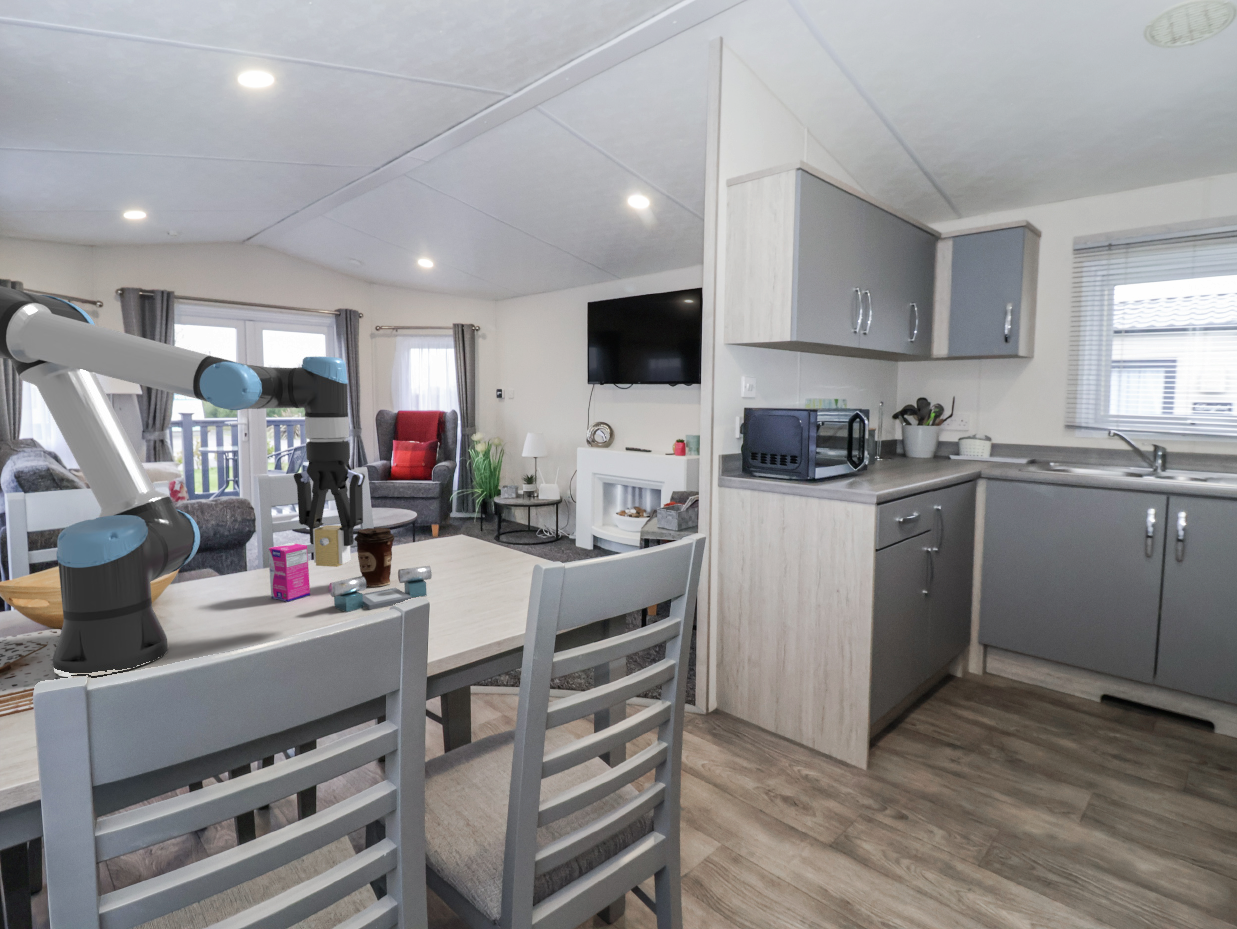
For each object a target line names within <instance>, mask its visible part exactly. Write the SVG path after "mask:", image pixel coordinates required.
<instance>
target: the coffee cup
mask: <svg viewBox="0 0 1237 929" xmlns="http://www.w3.org/2000/svg"><path fill="white" fill-rule="evenodd" d="M391 531H392V530H391V529H390V528H386V527H378V528H375V527H371V528H369V527H368V528H361V529H358V532H357V534H356V536H355V537H354V542H356V546H357V548H356V550H357V557H358V565H359V571H360V573H361V576H363V577H364V578H365V580H366V587H371V588H372V587H373V588H374V587H383V586H387V585H388V586H389V585H390V584H391V579H390V578H391V572H392V571H391V569H392V558H393V550H392V549H393V545H394V544H393V543H394V541H395V536H394V534H393V533H392V532H391Z"/></svg>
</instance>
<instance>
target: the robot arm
mask: <svg viewBox="0 0 1237 929" xmlns="http://www.w3.org/2000/svg"><path fill="white" fill-rule="evenodd" d="M0 359H4V360H10V362H11V364H12V366H13V367H14V370H15V371H16V373H17V376H18V377H19V379H20V380H21V381H23V382H26V383H27V384H28V383H29V384H31V385H34V386H36V387H37V389H38V391H39V393H40V395H41V398H42V399H43V401H44V403H45V405H46V407H47V409H48V410H49V411H48V412H50V414H51V416H52V418H53V420H54V422H55V424H56V426H57V428H58V429H59V432H60V433H61V435H62V437H63V439H64V441H65V443H66V445H67V446H68V449H69V450H70V452H71V454H72V456H73V458H74V460H75V461H76V463H77V466H78V468H79V469H80V471H81V473H82V475H83V477H84V479H85V481H86V482H87V484H88V486H89V488H90V490H91V492H92V494H93V495H94V497H95V499H96V501H97V503H98V505H99V506H100V509H101V511H100V513H99V515H98V517H96V518H94V519H86V520H85V519H84V520H83V521H79V522H76V523H73V524H71V525H69V526H66V527H65V528H64V529H62V531H60V533H59V534H58V536H57V542H56V546H57V549H56V556H55V558H56V560H57V563H58V564H57V565H58V573H59V574H58V575H59V583H60V594H61V595H60V596H61V606H62V614H63V615H62V616H63V624H62V628H61V630H60V633H59V636H58V639H57V644H56V646H55V650H54V653H53V656H52V667H54V668H55V669H57V670H61V671H64V672H69V673H92V672H98V671H105V672H107V670H113V669H115V670H122V669H127V668H133V667H136V666H137V665H141V664H143V663H146V662H149V661H153V660H155V659H157V658H158V657H160V658H162V657H163V656H165V655H166V654H167V652H168V650H169V646H168V638H167V637H168V636H167V634H166V633H165V631H164V628H163V626H162V624H161V622H160V620H159V618H158V617H157V614H156V613H155V611H154V608H153V600H152V586H151V583H152V582H153V581H155V580H157V579H158V580H159V579H160V578H162V577H164V576H166V575H169V574H171V573H174V572H177V571H178V570H180V569H181V568H182V567H183V566H184V565H187V563H189V562H190V561H191V560H192V559H193V558H194V556H195V555H196V553H197V551H198V549H199V547H200V543H201V534H200V533H201V532H200V530H199V525H198V524H197V522H196V521H195V520H194V518H193V517H192V516H191V515H190V514H188V513H187V512H184V511H181V510H180V509H177V508H176V506H175V504H174V502H173V500H172V499H171V497H170V495H169V494H167V493H164V492H160V491H158V490H156V488H155V487H154V484H153V482H152V480H151V479H150V477H149V475H148V472H147V471H146V468H145V467H144V465H143V463H142V461H141V460H140V458H139V455H138V454H137V452H136V450H135V447H134V446H133V444H132V442H131V440H130V438H129V436H128V434H127V432H126V430H125V428H124V426H123V425H122V423H121V421H120V419H119V417H118V415H117V413H116V411H115V409H114V407H113V404H112V403H111V401H110V399H109V397H108V395H107V394H106V391H105V390H104V387H103V386H102V385H103V384H102V383H101V382H100V380H99V377H98V376H97V375H100V376H104V377H108V378H112V379H115V380H120V381H123V382H128V383H133V384H136V385H140V386H144V387H148V388H152V389H156V390H159V391H165V392H169V393H172V394H176V395H181V396H185V397H189V398H193V399H197V400H200V401H203V402H206V403H209V404H211V405H213V407H217V408H219V409H224V410H230V411H243V410H251V409H252V410H261V409H304V430H305V434H304V436H305V438H306V439H308V440H309V441H306V443H305V449H306V450H305V451H306V460H307V462H308V464H307V467H306V470H305V471H301V472H298V473H297V472H296V473H294V474H293V478H294V482H295V484H296V490H297V491H296V492H297V507H298V510H297V511H298V523H299V524H300V525H302V526H303V525H304V526H307V527H308V529H309V543H310V545H313V559H314V560H313V562H314V564H316V553H315V530H314V529H317V528H320V527H323V526H324V524H325V523H324V522H322V521H323V516H324V511H325V510H324V509H325V504H326V498H327V494H328V492H329V490H330V493H331V495H333V499H334V502H335V506H336V510H337V515H338V518H339V523H340V526H341V528H339V529H340V530H338V551H339V564H343V565H344V563H345V564H347V563H350V562H351V561H352V560H351V559H352V558H351V546H353V545H354V542H355V540H354V539H355V537H354V529H355V528H356V527H358V526H360V525H362V524H363V523H364V509H363V508H364V507H363V506H364V504H363V501H364V500H363V498H364V497H363V495H364V494H363V485H364V482H365V479H366V475H365V474H364V473H363V472H362V473H358V472H355V471H353V470H352V468H351V465H350V460H351V445H350V442H349V440H347V439H348V438H349V437H350V424H349V423H350V422H349V397H348V396H349V392H348V391H349V390H348V389H349V388H348V386H349V381H348V374H347V366H346V362H345V361H344V359H343V358H340V357H335V356H305V357H304V358H303V359H302V364H301V366H299V367H275V366H274V367H271V366H262V365H261V366H260V365H253V364H245V363H242V362H241V363H240V362H237V361H232V360H229V359H224V358H222V357H221V358H220V357H218V356H213V355H210V354H206V353H202V352H198V351H194V350H191V349H186V348H182V347H178V346H176V345H175V346H174V345H171V344H169V343H164V342H161V341H156V340H153V339H149V338H146V337H145V338H144V337H142V336H138V335H133V334H130V333H127V332H122V331H118V330H116V329H112V328H106V327H105V326H104V327H103V326H101V325H96V324H95V322H94V320H93V319H92V318H91V316H90V315H89V314H88V313H87V312H86V311H85V310H84V309H82V308H81V307H79V306H77V305H76V304H74V303H72V302H69V301H67V300H64V299H63V298H59V297H56V296H53V295H47V294H46V295H45V294H36V293H32V292H27V291H24V290H18V289H14V288H11V287H6V286H0ZM348 479H349V480H348ZM347 480H348V483H349V487H348V485H347ZM311 481H312V482H313V483H312V485H311ZM348 488H349V489H348ZM348 492H349V497H348ZM164 654H165V655H164ZM161 656H162V657H161ZM157 660H158V659H157ZM155 661H156V660H155ZM153 662H154V661H153ZM143 666H144V665H141V666H140V667H143ZM131 670H132V669H129V670H123V671H118V672H112V674H111V675H113V673H114V674H117V673H122V672H123V673H124V672H126V671H131ZM86 675H88V676H91V675H89V674H77V675H71V676H86ZM101 676H102V675H99V676H98V677H101ZM103 676H107V675H106V674H104V675H103ZM95 677H97V676H95ZM95 677H94V678H95Z"/></svg>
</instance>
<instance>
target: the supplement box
mask: <svg viewBox="0 0 1237 929" xmlns="http://www.w3.org/2000/svg"><path fill="white" fill-rule="evenodd" d="M267 552H268V566H269V567H268V568H269V582H270V597H271V599H274V600H275V599H276V600H280V601H284V602H288V603H289V602H293V601H295V600H299V599H304V598H306V597H310V596H311V588H310V586H311V585H310V572H309V570H310V569H309V555H308V545H306V544H301V543H293V542H288V543H287V542H286V543H284V544H280V545H276V546H272V547H268V548H267Z"/></svg>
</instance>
